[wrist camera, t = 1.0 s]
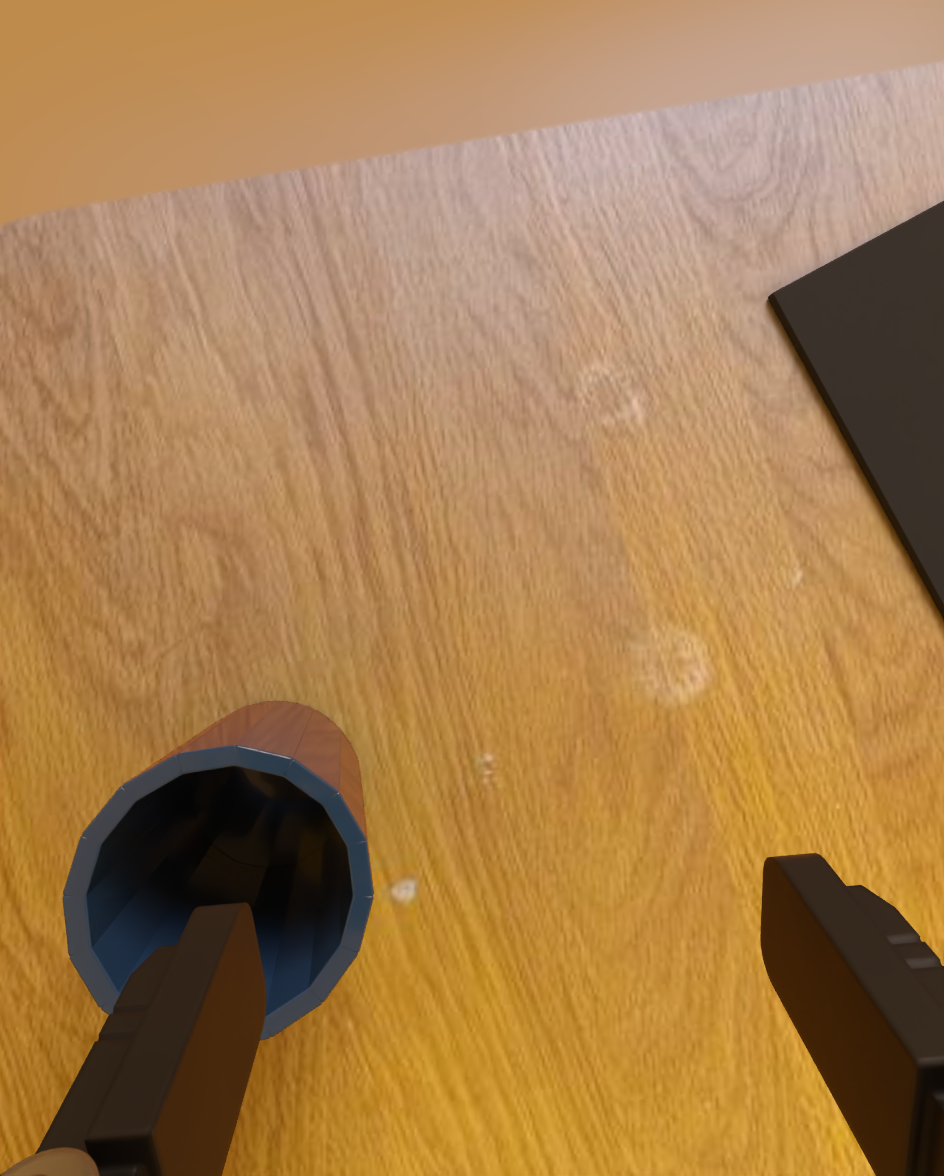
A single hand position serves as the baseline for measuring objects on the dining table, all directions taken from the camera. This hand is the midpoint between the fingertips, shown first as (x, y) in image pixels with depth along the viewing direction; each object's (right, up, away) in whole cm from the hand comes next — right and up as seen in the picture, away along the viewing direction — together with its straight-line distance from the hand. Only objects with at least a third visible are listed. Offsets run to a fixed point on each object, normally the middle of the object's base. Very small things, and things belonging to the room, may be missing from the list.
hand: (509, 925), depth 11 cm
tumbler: (-8, -2, +15) cm, 17 cm away
